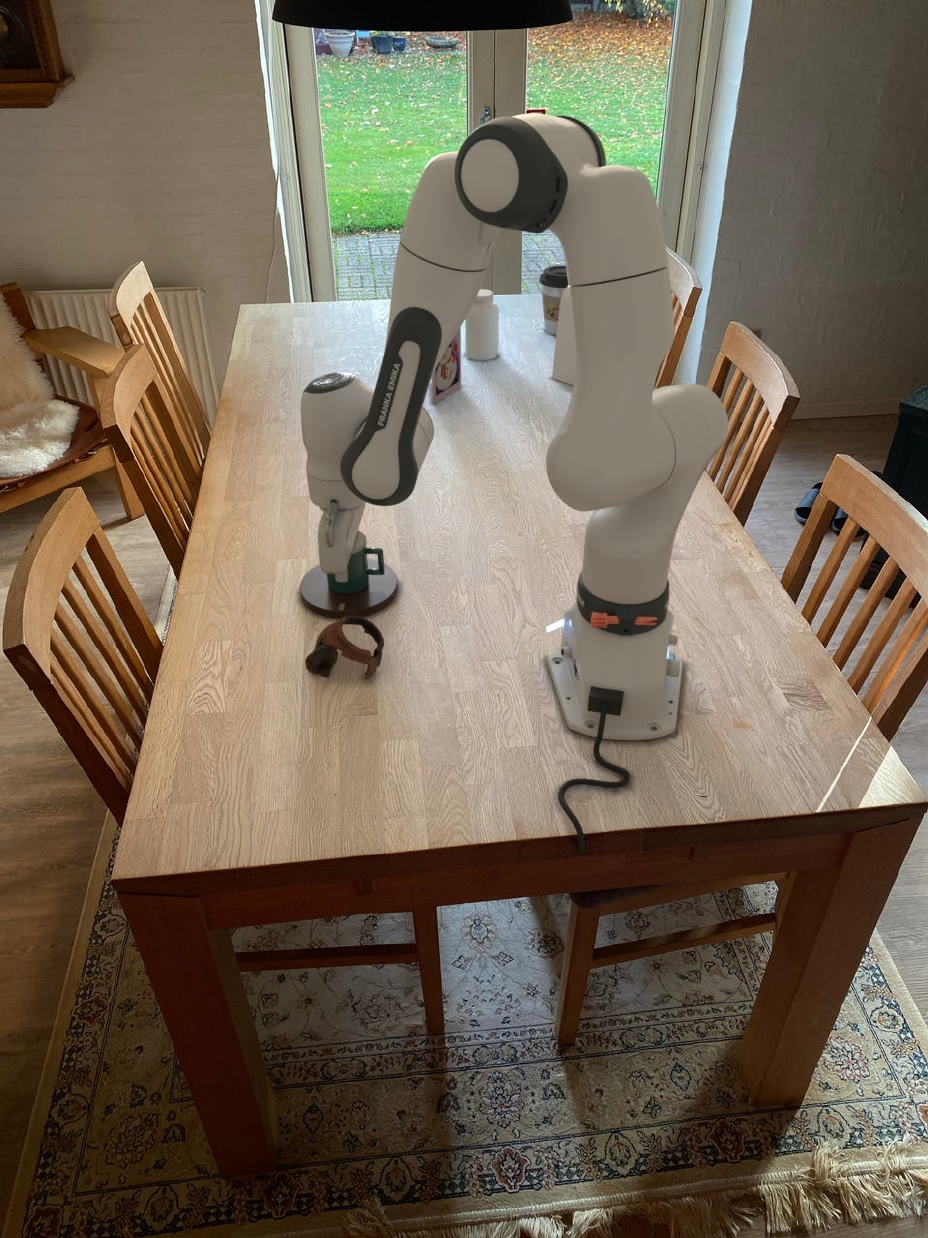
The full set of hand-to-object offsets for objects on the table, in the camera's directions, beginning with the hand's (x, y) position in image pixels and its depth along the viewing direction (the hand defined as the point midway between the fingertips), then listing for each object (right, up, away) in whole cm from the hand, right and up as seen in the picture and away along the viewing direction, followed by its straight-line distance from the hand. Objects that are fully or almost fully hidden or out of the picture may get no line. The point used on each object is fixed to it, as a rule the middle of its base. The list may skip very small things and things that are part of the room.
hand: (346, 565), depth 143 cm
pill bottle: (+22, +55, +83) cm, 102 cm away
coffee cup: (+42, +66, +96) cm, 124 cm away
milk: (+46, +47, +71) cm, 97 cm away
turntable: (0, -4, +3) cm, 5 cm away
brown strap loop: (+1, -15, -12) cm, 20 cm away
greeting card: (+12, +42, +65) cm, 78 cm away
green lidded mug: (+1, -3, +2) cm, 3 cm away
